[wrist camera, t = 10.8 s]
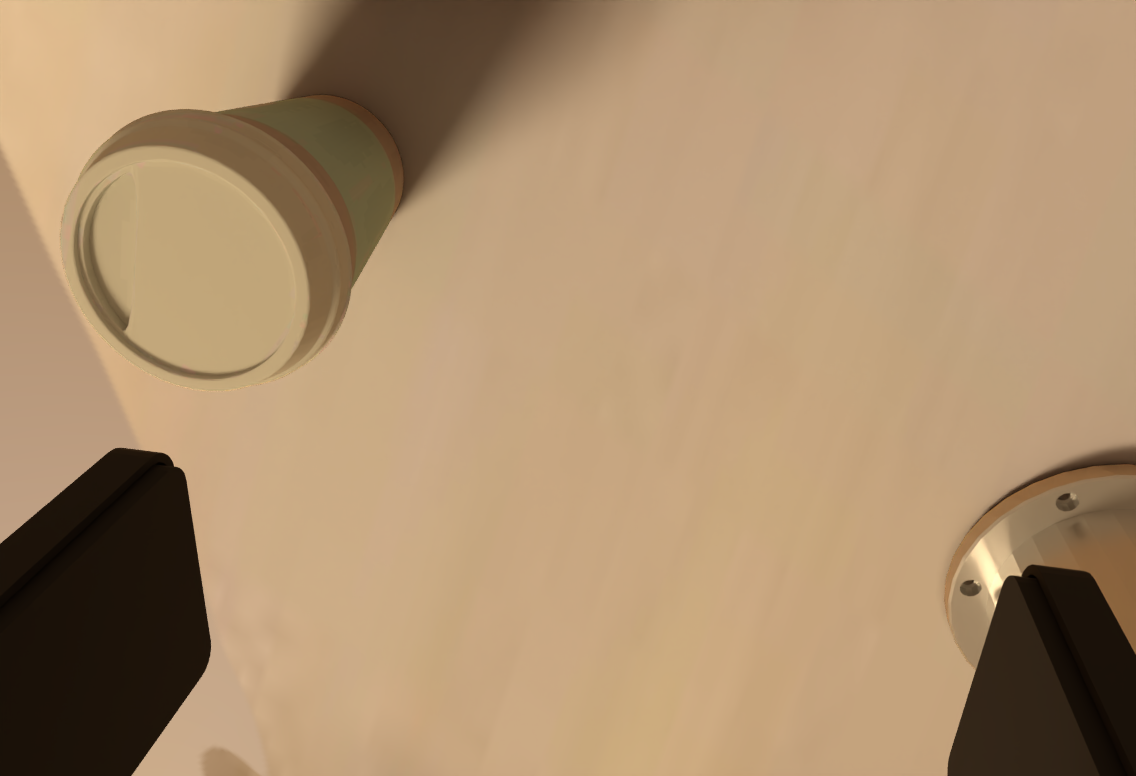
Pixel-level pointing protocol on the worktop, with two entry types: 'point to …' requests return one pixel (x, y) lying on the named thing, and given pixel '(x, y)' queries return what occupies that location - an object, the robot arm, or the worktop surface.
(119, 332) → the coffee cup
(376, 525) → the worktop surface
